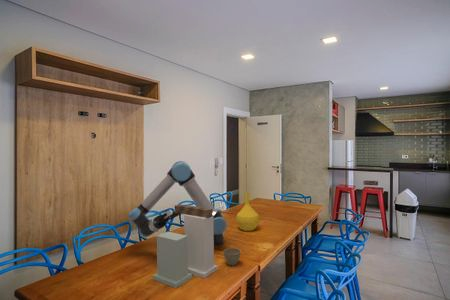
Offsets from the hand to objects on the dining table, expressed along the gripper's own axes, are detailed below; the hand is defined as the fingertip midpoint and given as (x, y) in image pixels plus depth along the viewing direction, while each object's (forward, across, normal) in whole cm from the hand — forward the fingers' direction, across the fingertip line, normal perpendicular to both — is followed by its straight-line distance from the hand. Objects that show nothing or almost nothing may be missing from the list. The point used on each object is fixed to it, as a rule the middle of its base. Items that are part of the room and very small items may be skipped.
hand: (179, 209), depth 152 cm
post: (-9, +14, -32) cm, 36 cm away
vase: (-15, -78, -28) cm, 84 cm away
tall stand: (-4, 0, -34) cm, 35 cm away
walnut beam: (+7, -1, -6) cm, 10 cm away
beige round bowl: (+5, -17, -40) cm, 44 cm away
